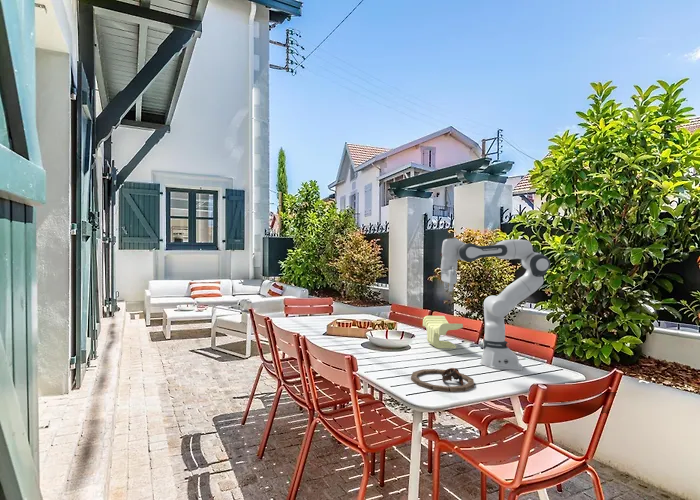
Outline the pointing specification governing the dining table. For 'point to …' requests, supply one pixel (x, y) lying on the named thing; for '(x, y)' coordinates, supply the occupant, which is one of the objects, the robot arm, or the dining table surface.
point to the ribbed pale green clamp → (439, 330)
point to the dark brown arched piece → (452, 375)
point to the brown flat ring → (440, 388)
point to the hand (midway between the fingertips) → (448, 290)
